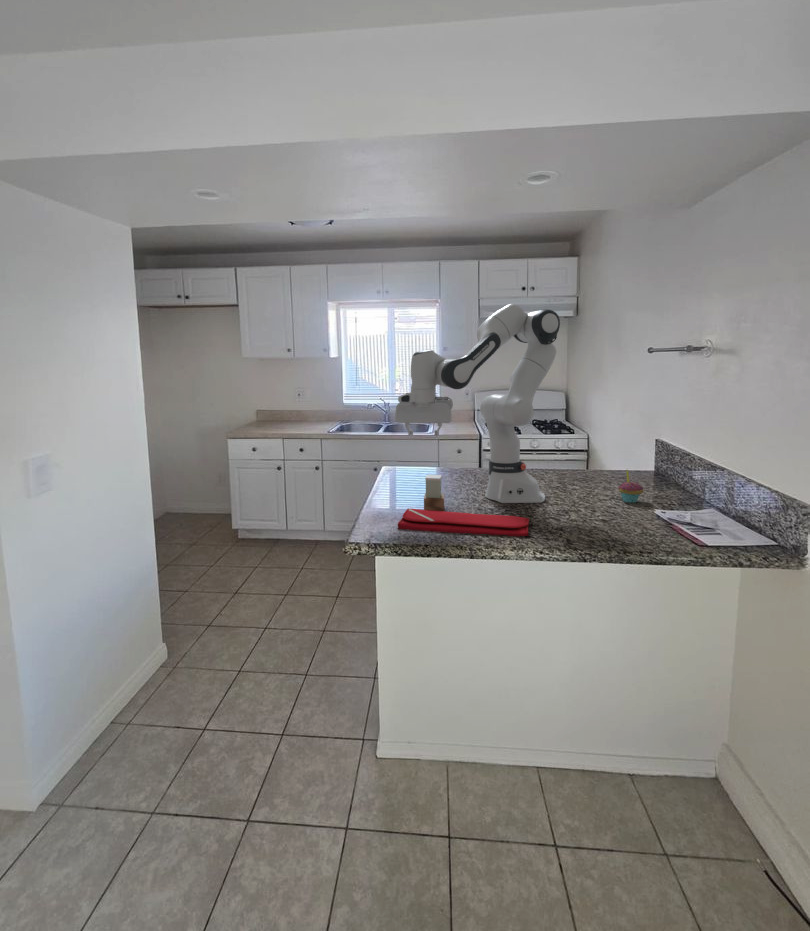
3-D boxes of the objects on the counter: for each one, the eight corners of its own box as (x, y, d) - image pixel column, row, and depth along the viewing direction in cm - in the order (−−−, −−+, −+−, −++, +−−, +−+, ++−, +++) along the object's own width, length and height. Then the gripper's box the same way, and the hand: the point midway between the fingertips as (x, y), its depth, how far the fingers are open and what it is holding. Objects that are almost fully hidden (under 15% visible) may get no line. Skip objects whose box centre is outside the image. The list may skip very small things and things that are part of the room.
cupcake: (614, 501, 205) (616, 469, 202) (623, 496, 211) (625, 465, 209) (637, 505, 199) (640, 473, 197) (646, 500, 205) (648, 469, 203)
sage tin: (441, 494, 200) (441, 475, 199) (440, 498, 195) (440, 478, 194) (427, 493, 201) (427, 474, 200) (425, 497, 196) (425, 478, 195)
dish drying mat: (528, 539, 168) (528, 527, 167) (397, 531, 177) (396, 519, 176) (529, 523, 183) (529, 512, 182) (408, 516, 192) (407, 506, 191)
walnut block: (444, 506, 202) (444, 493, 201) (443, 512, 195) (443, 498, 194) (425, 506, 203) (424, 493, 202) (424, 512, 196) (423, 498, 195)
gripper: (453, 395, 198) (453, 434, 201) (397, 395, 201) (397, 433, 204) (451, 397, 192) (451, 437, 194) (393, 397, 195) (394, 436, 198)
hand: (423, 435), depth 199 cm, fingers open, 8 cm apart
